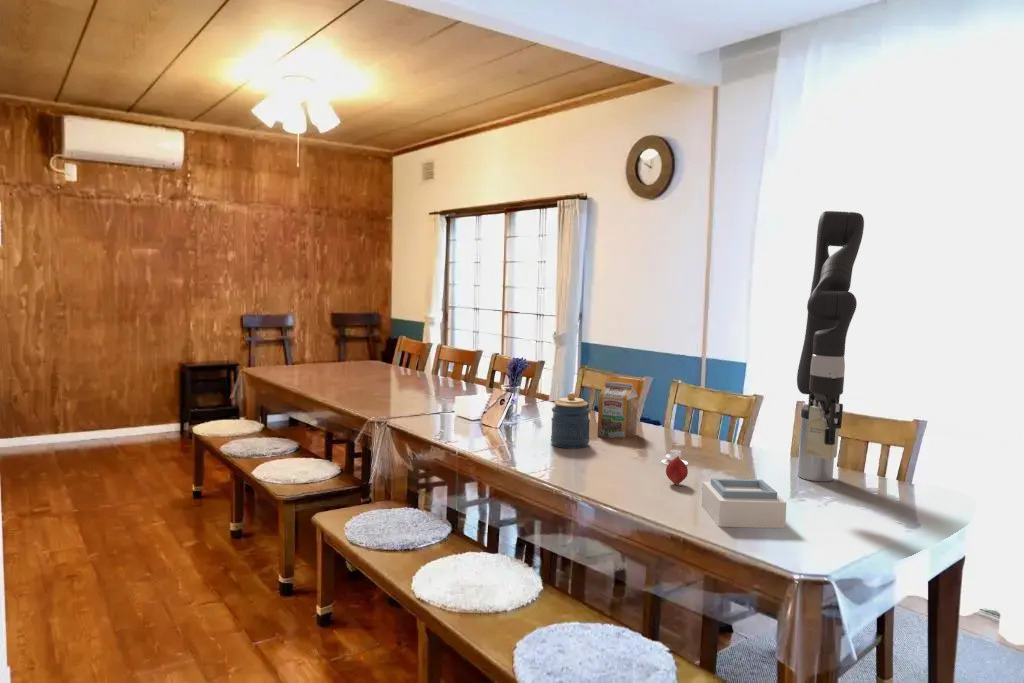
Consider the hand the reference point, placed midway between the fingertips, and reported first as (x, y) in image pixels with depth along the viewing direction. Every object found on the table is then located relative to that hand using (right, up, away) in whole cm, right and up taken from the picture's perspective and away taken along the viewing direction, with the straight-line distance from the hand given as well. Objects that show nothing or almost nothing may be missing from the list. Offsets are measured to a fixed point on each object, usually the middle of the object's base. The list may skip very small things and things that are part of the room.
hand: (822, 440), depth 169 cm
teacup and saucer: (-23, -14, +46) cm, 53 cm away
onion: (-31, -15, +21) cm, 40 cm away
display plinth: (-21, -17, -4) cm, 28 cm away
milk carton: (-38, -10, +81) cm, 90 cm away
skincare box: (0, -4, 0) cm, 4 cm away
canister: (-56, -11, +65) cm, 87 cm away
